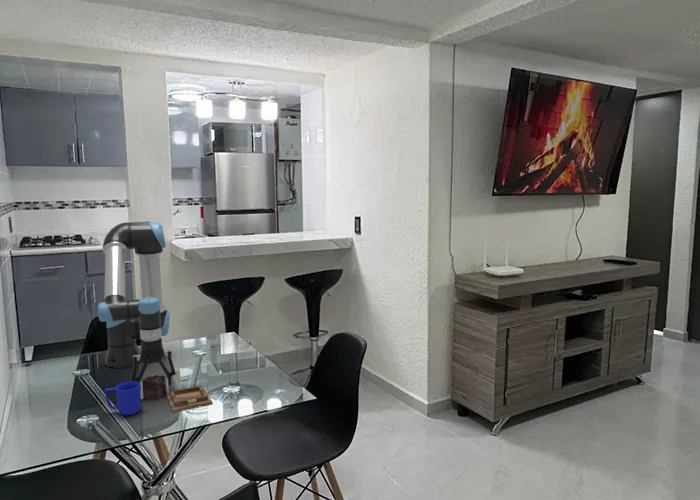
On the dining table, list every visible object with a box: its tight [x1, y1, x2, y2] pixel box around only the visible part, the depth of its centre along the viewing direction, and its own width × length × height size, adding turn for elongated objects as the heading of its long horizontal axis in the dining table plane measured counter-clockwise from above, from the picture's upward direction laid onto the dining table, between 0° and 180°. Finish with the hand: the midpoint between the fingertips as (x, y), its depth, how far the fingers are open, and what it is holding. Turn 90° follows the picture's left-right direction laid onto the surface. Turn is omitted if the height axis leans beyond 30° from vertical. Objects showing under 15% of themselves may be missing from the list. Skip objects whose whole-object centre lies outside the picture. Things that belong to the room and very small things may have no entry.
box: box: [142, 374, 166, 400], centre depth 198 cm, size 6×6×7 cm
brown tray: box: [165, 385, 213, 413], centre depth 195 cm, size 16×14×2 cm
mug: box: [104, 380, 141, 416], centre depth 184 cm, size 8×12×10 cm
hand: (154, 395), depth 199 cm, fingers open, 8 cm apart
